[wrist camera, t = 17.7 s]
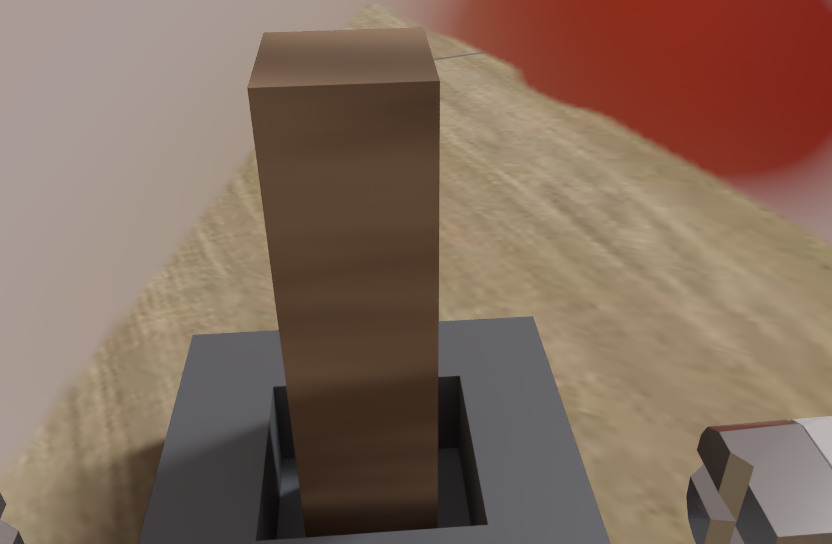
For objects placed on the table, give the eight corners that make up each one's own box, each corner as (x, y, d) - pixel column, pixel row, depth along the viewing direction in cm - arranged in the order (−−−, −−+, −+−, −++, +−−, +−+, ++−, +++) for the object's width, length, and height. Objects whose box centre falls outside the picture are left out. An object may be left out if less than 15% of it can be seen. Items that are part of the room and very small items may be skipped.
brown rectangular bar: (437, 568, 25) (439, 80, 17) (311, 577, 25) (247, 87, 16) (426, 474, 29) (423, 27, 20) (314, 481, 28) (263, 32, 20)
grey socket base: (614, 717, 22) (636, 620, 20) (143, 757, 22) (106, 661, 19) (525, 403, 33) (532, 316, 31) (210, 423, 32) (192, 334, 30)
